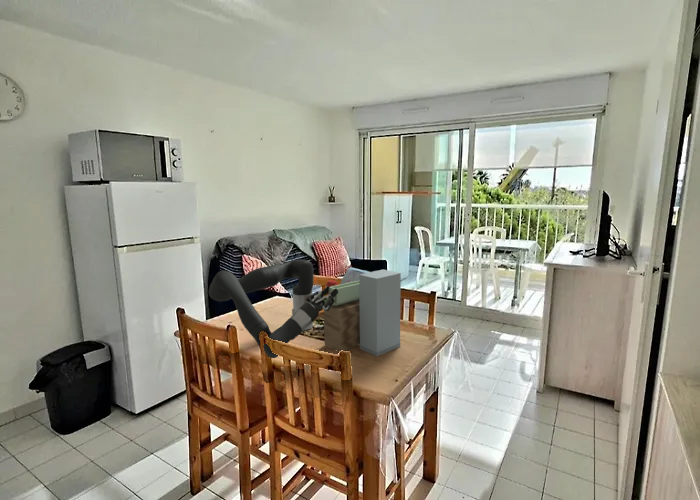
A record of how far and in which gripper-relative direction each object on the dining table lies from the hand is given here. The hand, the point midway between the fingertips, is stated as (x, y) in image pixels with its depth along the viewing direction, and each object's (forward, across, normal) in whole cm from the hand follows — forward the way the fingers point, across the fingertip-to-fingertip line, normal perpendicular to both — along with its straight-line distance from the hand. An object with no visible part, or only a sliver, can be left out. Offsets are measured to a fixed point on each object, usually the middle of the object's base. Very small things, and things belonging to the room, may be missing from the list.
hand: (333, 289), depth 159 cm
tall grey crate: (0, +13, -30) cm, 32 cm away
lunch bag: (+15, -14, -38) cm, 43 cm away
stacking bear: (+13, -37, -37) cm, 54 cm away
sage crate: (+6, 0, -11) cm, 12 cm away
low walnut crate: (-4, 0, -27) cm, 28 cm away
